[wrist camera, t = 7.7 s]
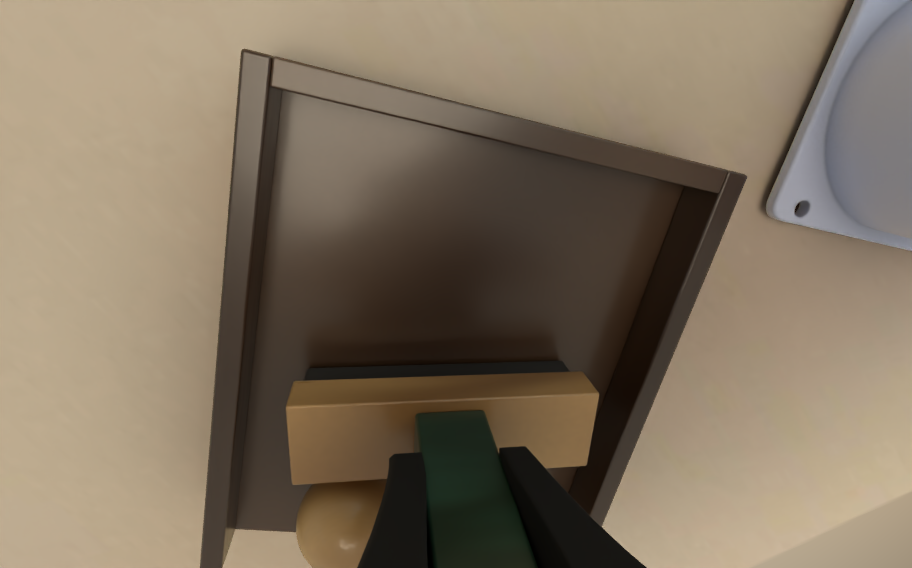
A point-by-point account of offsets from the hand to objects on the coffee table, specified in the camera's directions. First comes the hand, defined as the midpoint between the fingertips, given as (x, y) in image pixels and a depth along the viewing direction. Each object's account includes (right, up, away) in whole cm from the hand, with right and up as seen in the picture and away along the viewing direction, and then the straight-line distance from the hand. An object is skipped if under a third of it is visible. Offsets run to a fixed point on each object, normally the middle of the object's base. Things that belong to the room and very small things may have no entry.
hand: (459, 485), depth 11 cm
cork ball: (-3, -2, +3) cm, 5 cm away
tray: (0, +3, +5) cm, 5 cm away
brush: (-1, +1, +4) cm, 4 cm away
